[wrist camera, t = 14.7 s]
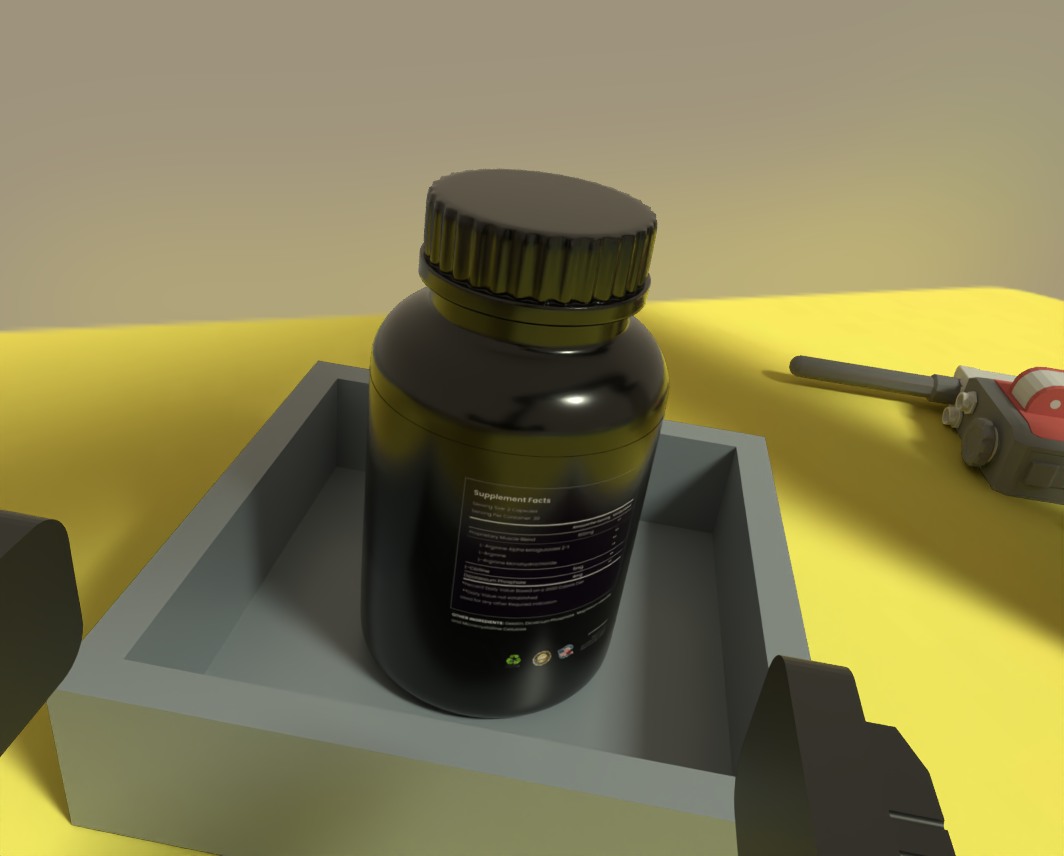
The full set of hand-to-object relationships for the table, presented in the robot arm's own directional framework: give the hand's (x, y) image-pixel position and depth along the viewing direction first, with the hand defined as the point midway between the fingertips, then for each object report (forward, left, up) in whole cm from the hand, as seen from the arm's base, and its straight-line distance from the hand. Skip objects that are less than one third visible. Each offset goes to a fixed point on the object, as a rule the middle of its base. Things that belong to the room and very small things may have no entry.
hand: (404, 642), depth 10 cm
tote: (0, -11, -10) cm, 15 cm away
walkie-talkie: (-21, -29, -11) cm, 37 cm away
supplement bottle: (0, -11, -10) cm, 15 cm away
